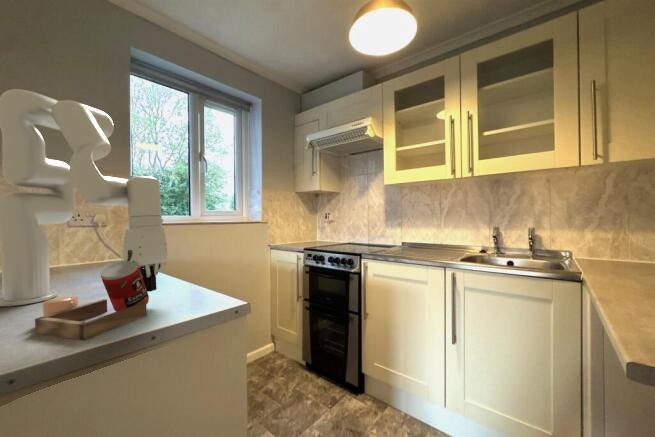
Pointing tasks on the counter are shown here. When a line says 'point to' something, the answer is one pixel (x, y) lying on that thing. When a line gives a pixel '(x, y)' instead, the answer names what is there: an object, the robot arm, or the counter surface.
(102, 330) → the wooden u-shaped frame
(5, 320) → the counter surface
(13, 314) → the counter surface
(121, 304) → the canned food
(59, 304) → the peach egg shape
